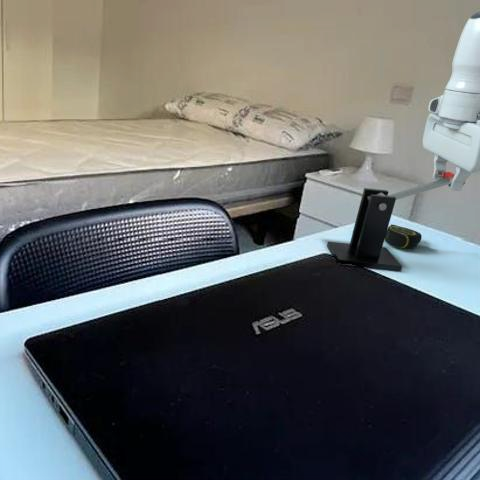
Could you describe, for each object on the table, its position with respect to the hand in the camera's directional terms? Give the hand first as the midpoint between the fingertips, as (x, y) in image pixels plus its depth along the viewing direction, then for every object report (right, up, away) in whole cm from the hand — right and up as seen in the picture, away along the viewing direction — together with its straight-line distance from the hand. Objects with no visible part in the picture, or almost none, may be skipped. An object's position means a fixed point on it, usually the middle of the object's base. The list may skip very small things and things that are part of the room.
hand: (445, 184), depth 93 cm
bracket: (-13, -14, +7) cm, 20 cm away
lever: (-5, -2, +1) cm, 6 cm away
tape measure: (-1, -12, +16) cm, 20 cm away
